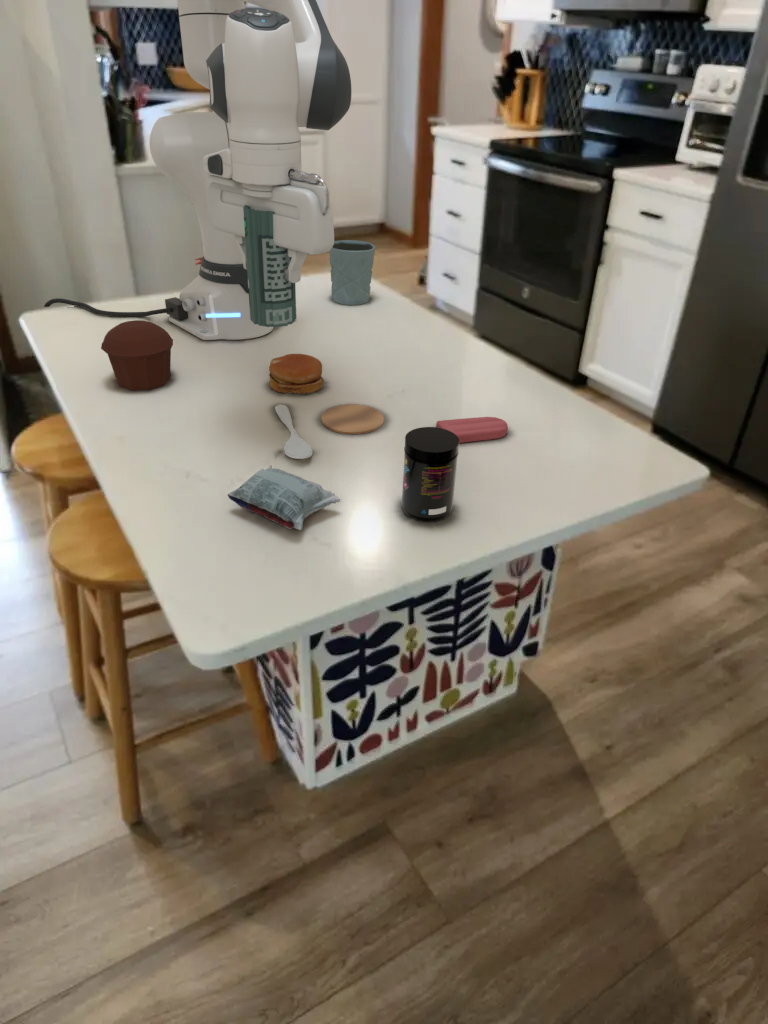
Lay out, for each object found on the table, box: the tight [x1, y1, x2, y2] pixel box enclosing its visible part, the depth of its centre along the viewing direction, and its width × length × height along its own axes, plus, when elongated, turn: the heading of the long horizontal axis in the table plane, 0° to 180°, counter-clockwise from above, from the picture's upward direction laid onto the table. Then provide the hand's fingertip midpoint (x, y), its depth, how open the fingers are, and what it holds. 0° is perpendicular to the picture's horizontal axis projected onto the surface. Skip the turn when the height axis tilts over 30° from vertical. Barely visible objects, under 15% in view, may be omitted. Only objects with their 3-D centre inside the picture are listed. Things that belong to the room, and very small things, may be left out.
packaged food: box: [227, 465, 341, 532], centre depth 94 cm, size 9×12×5 cm
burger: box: [268, 353, 324, 395], centre depth 128 cm, size 10×9×5 cm
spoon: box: [274, 404, 314, 460], centre depth 113 cm, size 4×21×2 cm, turn 16°
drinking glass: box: [328, 239, 376, 306], centre depth 167 cm, size 10×10×12 cm
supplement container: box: [401, 426, 460, 523], centre depth 94 cm, size 7×7×10 cm
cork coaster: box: [320, 403, 385, 435], centre depth 118 cm, size 10×10×1 cm
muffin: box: [100, 319, 174, 391], centre depth 126 cm, size 12×11×10 cm
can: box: [243, 205, 297, 328], centre depth 100 cm, size 6×6×15 cm
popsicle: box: [435, 416, 509, 444], centre depth 115 cm, size 5×2×15 cm
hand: (271, 275), depth 101 cm, fingers closed on can, 6 cm apart
